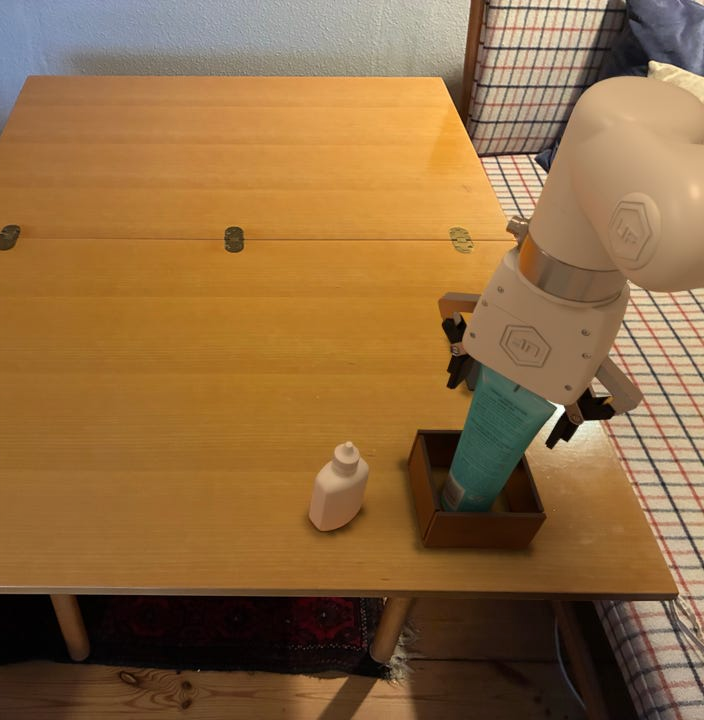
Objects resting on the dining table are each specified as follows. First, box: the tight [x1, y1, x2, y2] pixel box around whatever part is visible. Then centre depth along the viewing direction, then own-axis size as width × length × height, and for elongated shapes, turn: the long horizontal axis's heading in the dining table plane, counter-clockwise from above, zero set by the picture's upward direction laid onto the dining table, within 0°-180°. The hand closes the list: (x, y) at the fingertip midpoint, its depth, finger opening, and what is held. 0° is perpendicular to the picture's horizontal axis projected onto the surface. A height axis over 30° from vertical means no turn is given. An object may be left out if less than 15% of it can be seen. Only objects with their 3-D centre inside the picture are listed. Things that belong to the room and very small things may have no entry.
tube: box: [440, 363, 558, 512], centre depth 66 cm, size 7×5×19 cm, turn 44°
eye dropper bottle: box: [308, 440, 371, 532], centre depth 68 cm, size 4×6×12 cm
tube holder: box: [406, 428, 548, 550], centre depth 71 cm, size 10×10×6 cm
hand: (504, 408), depth 63 cm, fingers open, 9 cm apart
